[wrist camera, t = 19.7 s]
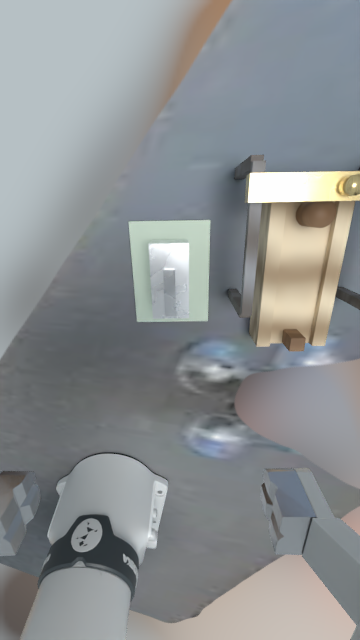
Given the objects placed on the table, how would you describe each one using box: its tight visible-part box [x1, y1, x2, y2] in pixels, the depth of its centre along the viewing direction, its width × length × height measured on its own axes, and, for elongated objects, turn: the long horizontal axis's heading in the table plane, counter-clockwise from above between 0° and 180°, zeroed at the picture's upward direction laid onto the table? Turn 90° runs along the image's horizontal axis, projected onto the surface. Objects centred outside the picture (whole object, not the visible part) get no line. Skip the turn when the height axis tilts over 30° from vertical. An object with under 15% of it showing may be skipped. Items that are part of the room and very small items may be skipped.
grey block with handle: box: [148, 239, 189, 319], centre depth 29 cm, size 8×4×5 cm, turn 1°
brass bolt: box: [245, 171, 360, 203], centre depth 20 cm, size 2×15×2 cm, turn 91°
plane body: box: [228, 155, 360, 351], centre depth 28 cm, size 19×14×8 cm
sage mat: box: [129, 220, 210, 322], centre depth 32 cm, size 12×9×1 cm
